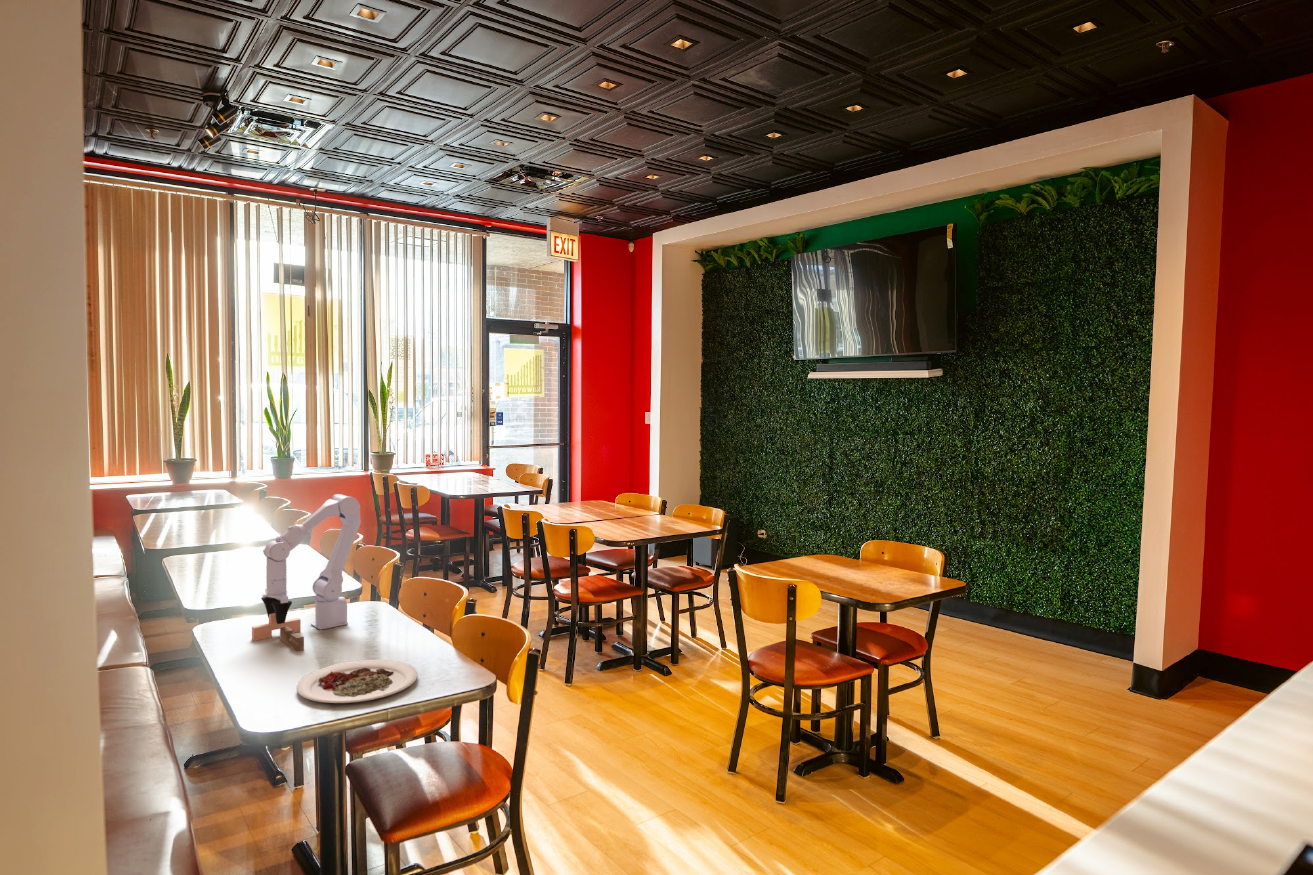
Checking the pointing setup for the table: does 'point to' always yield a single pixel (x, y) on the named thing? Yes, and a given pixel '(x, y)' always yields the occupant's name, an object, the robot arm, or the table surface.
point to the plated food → (356, 681)
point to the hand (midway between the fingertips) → (276, 620)
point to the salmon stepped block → (274, 627)
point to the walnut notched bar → (292, 638)
